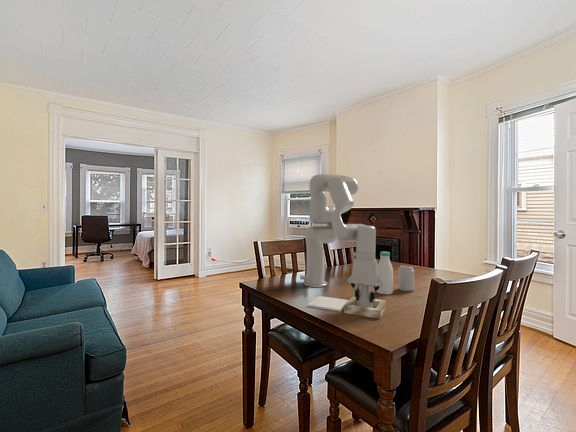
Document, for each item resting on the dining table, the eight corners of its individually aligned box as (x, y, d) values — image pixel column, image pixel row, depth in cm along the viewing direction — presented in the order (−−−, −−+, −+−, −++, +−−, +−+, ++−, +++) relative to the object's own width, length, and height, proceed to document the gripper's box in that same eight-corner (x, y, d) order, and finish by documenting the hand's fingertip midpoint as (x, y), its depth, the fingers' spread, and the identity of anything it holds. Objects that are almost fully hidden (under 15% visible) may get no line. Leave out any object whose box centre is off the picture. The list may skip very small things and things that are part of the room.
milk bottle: (393, 295, 147) (394, 253, 146) (376, 294, 149) (377, 252, 148) (391, 291, 155) (392, 251, 154) (375, 290, 156) (376, 250, 155)
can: (413, 288, 159) (413, 265, 159) (414, 292, 152) (414, 268, 152) (398, 287, 161) (398, 264, 161) (398, 291, 154) (398, 267, 154)
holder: (343, 313, 123) (344, 305, 123) (352, 303, 135) (352, 296, 135) (380, 318, 117) (380, 310, 116) (385, 307, 129) (386, 300, 129)
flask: (353, 305, 130) (353, 281, 129) (370, 304, 130) (370, 281, 130) (358, 311, 122) (359, 286, 122) (376, 310, 123) (377, 286, 123)
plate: (307, 306, 130) (307, 304, 130) (318, 297, 143) (318, 295, 143) (339, 311, 124) (339, 309, 124) (348, 301, 137) (348, 300, 137)
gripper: (342, 255, 126) (341, 299, 127) (386, 259, 118) (385, 306, 119) (347, 253, 132) (346, 295, 133) (388, 256, 125) (387, 300, 126)
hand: (364, 299), depth 126 cm, fingers closed on flask, 5 cm apart
